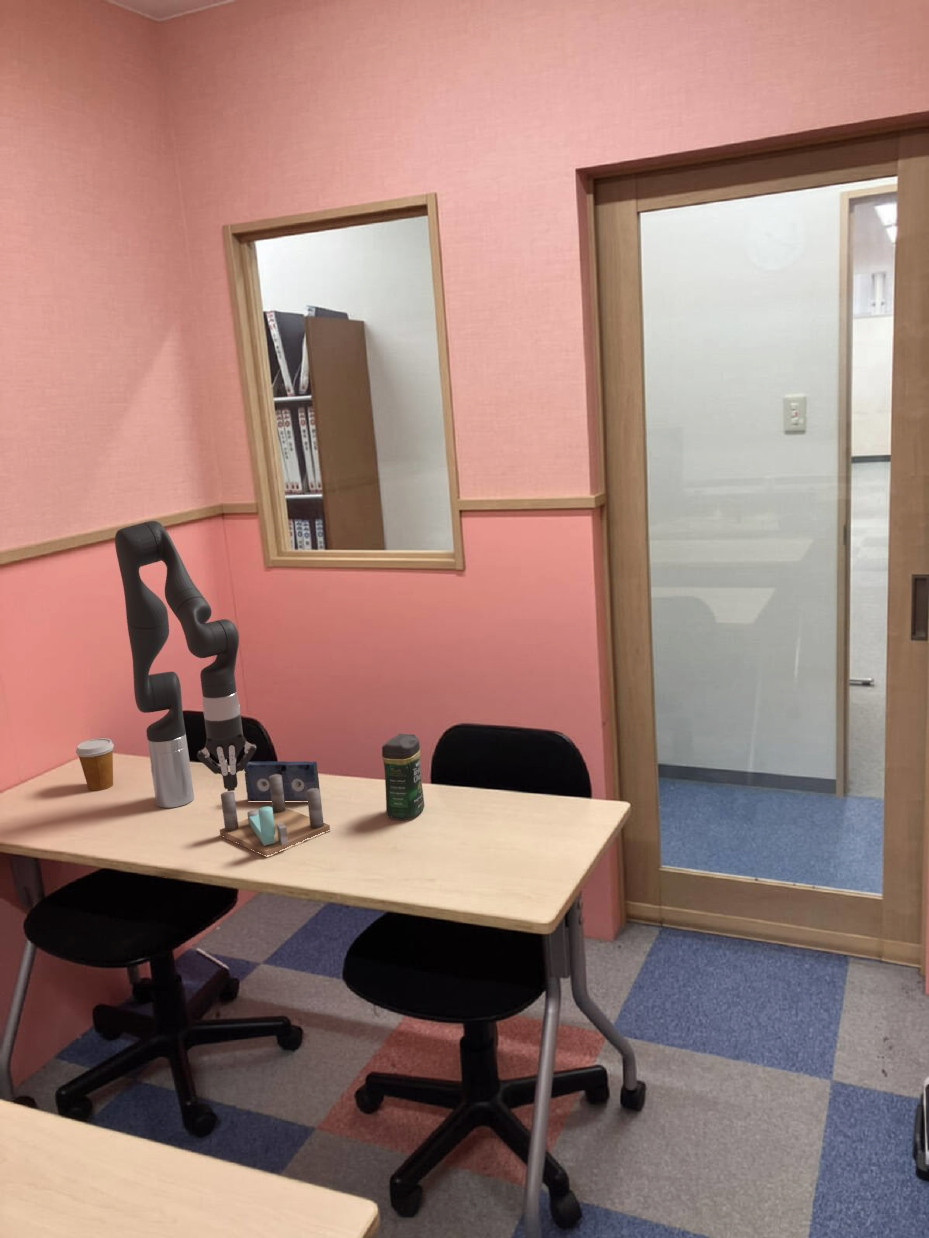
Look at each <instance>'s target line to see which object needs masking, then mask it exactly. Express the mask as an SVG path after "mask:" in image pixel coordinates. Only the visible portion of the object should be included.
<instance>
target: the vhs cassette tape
mask: <svg viewBox="0 0 929 1238" xmlns="http://www.w3.org/2000/svg"><path fill="white" fill-rule="evenodd" d="M317 762H318V761H269V760H268V761H249V762H248V764H247V765H246V767H245V768H244V770H243V771H244V781H245V787H246V795H247V797H246V798H247V802H248V801H271V792H270V784H269V776H271V775H275V774H280V775H282V783H283V792H284V801H308V799H307V790H309V789H312V788H318V789H320V781H319V771H318V763H317ZM320 790H321V789H320Z"/></svg>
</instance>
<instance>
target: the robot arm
mask: <svg viewBox="0 0 929 1238" xmlns="http://www.w3.org/2000/svg"><path fill="white" fill-rule="evenodd" d="M114 546H115V553H116V557H117V558H116V559H117V562H118V567H119V571H120V577H121V581H122V588H123V593H124V595H123V596H124V601H125V603H124V604H125V613H126V614H125V615H126V623H127V632H128V637H129V645H130V650H131V656H132V657H131V658H132V659H131V660H132V671H133V672H132V674H133V690H134V691H133V692H134V694H133V695H134V698H135V704H136V707H137V709H138V710H139V711H140V712H141V713H143V714H144V713H147V714H148V713H155V712H162V711H167V710H168V711H167V713H166V714H165V715H164V716H163V717H161V718H159V719H158V720H156V721H155V722H153V723H151V724H150V725H148V726H147V728H146V730H145V731H146V739H147V746H148V752H149V760H150V770H151V776H152V777H151V778H152V785H153V791H154V796H155V797H154V798H155V801H156V805H157V807H160V808H164V809H165V808H169V809H170V808H177V807H181V806H185V805H187V804H189V803H191V802H192V801H193V800H194V799H195V793H194V786H193V779H192V771H191V762H190V755H189V748H188V740H187V735H186V727H185V720H184V710H183V703H182V701H183V699H182V687H181V681H180V678H179V676H178V674H177V673H176V672H175V671H165V672H157V673H153V674H151V673H150V670H151V668H152V665H153V663H154V661H155V660H156V659H157V657H158V655H159V654H160V653H161V651H162V650H163V647H164V646H165V644H166V643H167V641H168V638H169V636H170V624H169V614H168V613H169V611H168V609H167V606H166V604H165V603H164V601H163V600H162V599H161V598H160V597H159V596H158V595H156V593H154V592H153V591H152V590H151V589H150V588H149V587H148V585H146V584H145V582H144V581H143V580H142V579H141V575H140V569H141V567H144V566H148V565H152V564H155V563H158V562H163V564H164V565H165V567H166V577H165V584H164V598H165V601H166V603H167V605H168V607H169V608H170V610H171V611H172V612H173V614H174V615H175V617H176V618H177V621H179V623H180V625H181V628H182V631H183V634H184V638H185V642H186V646H187V649H188V651H189V652H190V654H192V655H193V656H195V657H196V658H199V659H206V658H211V657H214V656H216V657H215V659H214V661H213V662H212V663H210V664H209V665H207V666H205V667H204V668H202V669H201V671H200V675H199V676H200V686H201V693H202V710H203V718H204V726H205V727H204V728H205V733H206V741H205V745H204V747H203V748H202V749H200V750H198V751H197V753H196V754H197V755H196V758H197V759H198V760H199V761H200V762H201V763H202V764H203V765H204V766H205V767H207V768H208V769H209V770H210V771H211V772H212V773H213V774H215V775H221V776H222V781H223V782H222V783H223V787H224V789H225V790H227V792H229V791H231V792H234V791H236V790H235V788H237V787H238V784H239V783H238V777H237V776H238V775H237V774H238V773H239V772H242V771H244V768H245V767H246V765H247V764H248V762H249V761H250V760H251V759H252V758H253V756H254V754H255V753H256V751H257V745H256V743H250V742H248V741H247V739H246V737H245V735H244V732H243V724H242V717H241V706H240V700H239V697H238V692H237V683H236V677H235V675H236V672H235V671H236V663H237V658H238V652H239V651H238V650H239V645H240V636H239V630H238V628H237V626H236V625H235V624H234V623H233V622H232V620H230V619H226V618H224V619H217V620H214V621H209V620H210V619H211V617H212V613H213V612H212V607H211V605H210V604H209V602H208V601H207V600H206V598H205V597H204V595H203V594H202V592H201V591H200V590H199V588H197V586H196V584H195V583H194V582H193V580H192V577H191V576H190V575H189V573H188V572H189V571H188V570H187V568H186V566H185V564H184V562H183V560H182V558H181V556H180V553H179V552H178V550H177V548H176V546H175V544H174V542H173V540H172V538H171V536H170V535H169V532H168V531H167V529H166V528H165V526H163V525H162V524H161V523H160V522H159V521H156V520H150V521H145V522H140V523H138V524H137V523H136V524H134V525H130V526H129V525H128V526H125V527H123V528H120V529H118V530H117V531H116V532H115V536H114ZM208 621H209V622H208ZM243 748H244V755H243V757H242V758H241V759H240V761H239V762H238V763H237V758H238V757H239V756H240V754H241V753H242V751H243ZM210 754H211V755H212V756H213V757H214V758H215V759H217V761H219V764H218V763H217V762H216V761H215V760H213V759H212V757H210ZM227 760H229V765H228V761H227Z"/></svg>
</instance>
